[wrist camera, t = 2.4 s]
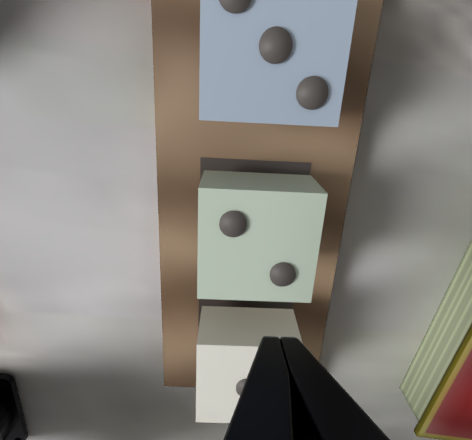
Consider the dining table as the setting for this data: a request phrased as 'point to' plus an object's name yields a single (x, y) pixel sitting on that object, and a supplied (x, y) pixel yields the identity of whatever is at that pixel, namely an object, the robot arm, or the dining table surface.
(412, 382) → the hardcover book
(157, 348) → the dining table surface
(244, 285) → the tile two
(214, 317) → the tile one
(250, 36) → the tile three
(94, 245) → the dining table surface
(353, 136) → the wooden plank tray
